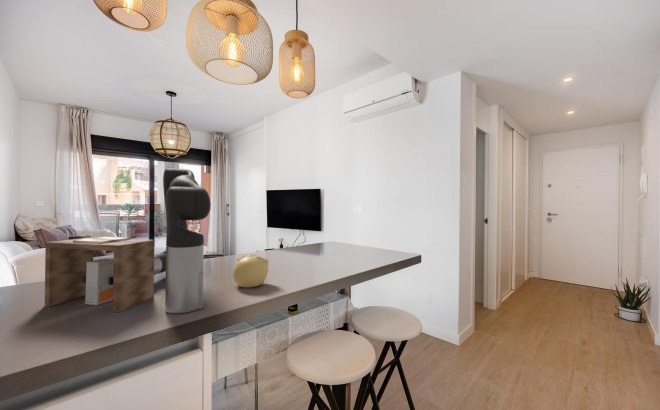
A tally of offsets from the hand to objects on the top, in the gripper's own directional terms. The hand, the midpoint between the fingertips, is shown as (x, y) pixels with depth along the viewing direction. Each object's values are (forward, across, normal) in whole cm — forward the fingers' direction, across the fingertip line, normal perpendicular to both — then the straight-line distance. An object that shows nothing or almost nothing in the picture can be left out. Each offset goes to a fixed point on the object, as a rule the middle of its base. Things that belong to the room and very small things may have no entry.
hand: (96, 280), depth 78 cm
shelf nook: (-2, 0, +6) cm, 7 cm away
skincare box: (-2, 0, +7) cm, 7 cm away
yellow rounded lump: (-26, +35, +7) cm, 44 cm away
